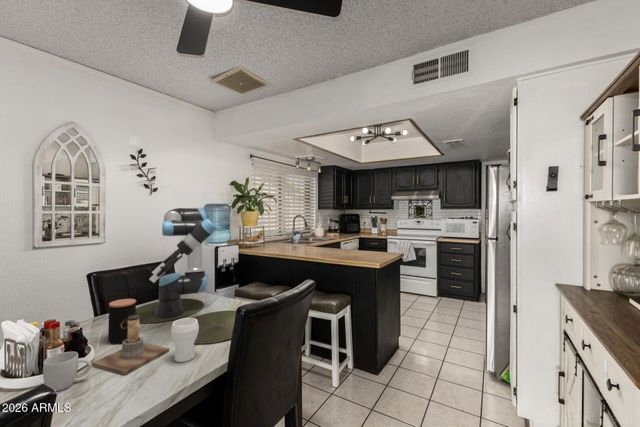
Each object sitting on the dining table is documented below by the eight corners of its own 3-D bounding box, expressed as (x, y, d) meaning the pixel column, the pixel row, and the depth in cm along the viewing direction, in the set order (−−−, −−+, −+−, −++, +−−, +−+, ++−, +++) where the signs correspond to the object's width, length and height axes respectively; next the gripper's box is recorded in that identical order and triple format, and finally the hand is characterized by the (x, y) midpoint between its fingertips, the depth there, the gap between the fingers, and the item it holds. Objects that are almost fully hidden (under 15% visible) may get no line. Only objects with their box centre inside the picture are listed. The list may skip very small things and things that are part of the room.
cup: (171, 354, 123) (172, 319, 123) (198, 349, 128) (198, 316, 128) (169, 366, 114) (170, 328, 114) (198, 361, 118) (199, 324, 118)
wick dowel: (133, 352, 121) (134, 314, 121) (140, 353, 120) (141, 315, 120) (124, 356, 118) (125, 317, 118) (131, 358, 116) (132, 318, 116)
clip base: (138, 344, 131) (139, 328, 131) (169, 351, 125) (169, 334, 125) (91, 366, 112) (92, 347, 112) (125, 375, 106) (125, 355, 107)
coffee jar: (121, 346, 130) (122, 306, 130) (102, 343, 132) (102, 304, 132) (140, 336, 140) (141, 299, 140) (122, 334, 142) (123, 297, 142)
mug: (39, 398, 93) (40, 367, 93) (45, 384, 100) (46, 355, 100) (90, 385, 100) (90, 356, 100) (91, 373, 108) (92, 346, 108)
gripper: (195, 254, 132) (157, 289, 125) (193, 246, 154) (160, 276, 148) (182, 242, 129) (143, 278, 123) (182, 236, 152) (149, 266, 145)
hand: (152, 277), depth 135 cm, fingers open, 13 cm apart
